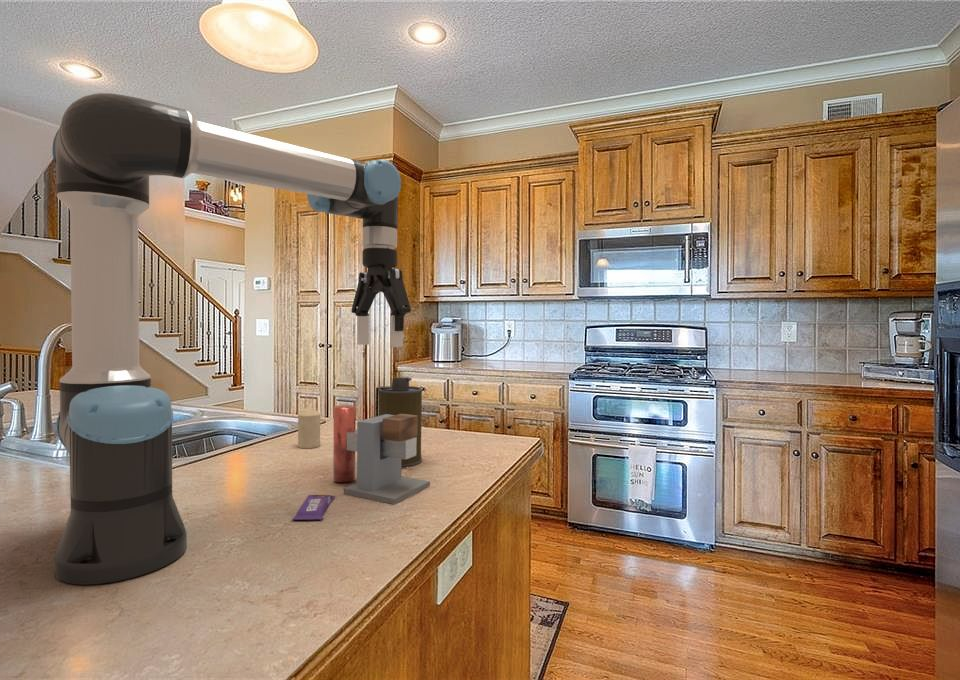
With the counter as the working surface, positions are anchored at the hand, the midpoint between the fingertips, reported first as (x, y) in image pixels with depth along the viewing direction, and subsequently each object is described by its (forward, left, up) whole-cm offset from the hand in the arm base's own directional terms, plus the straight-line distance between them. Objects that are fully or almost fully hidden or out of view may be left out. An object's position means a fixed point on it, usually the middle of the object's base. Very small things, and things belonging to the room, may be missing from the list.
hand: (379, 345), depth 114 cm
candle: (-2, +31, -28) cm, 42 cm away
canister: (+8, +4, -28) cm, 29 cm away
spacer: (-4, -15, -17) cm, 23 cm away
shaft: (-7, -8, -27) cm, 29 cm away
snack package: (-21, -13, -29) cm, 38 cm away
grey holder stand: (-5, -12, -28) cm, 31 cm away
